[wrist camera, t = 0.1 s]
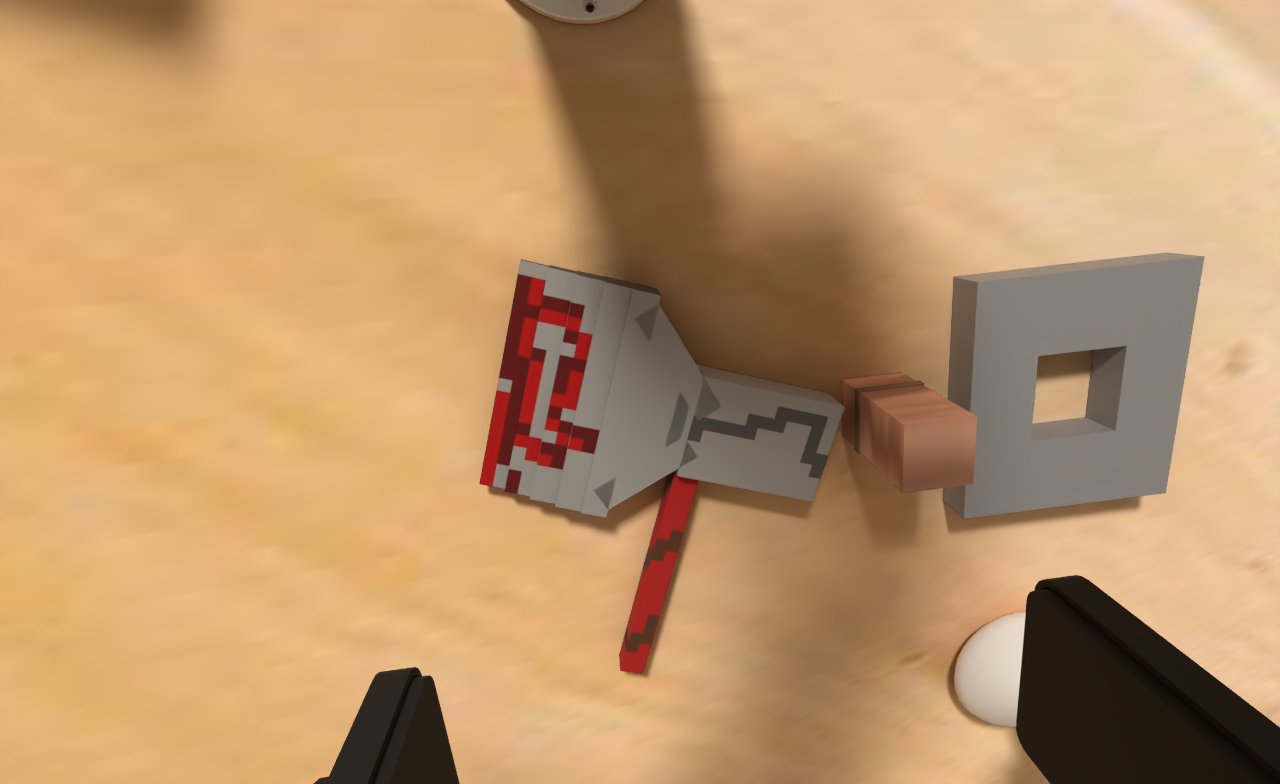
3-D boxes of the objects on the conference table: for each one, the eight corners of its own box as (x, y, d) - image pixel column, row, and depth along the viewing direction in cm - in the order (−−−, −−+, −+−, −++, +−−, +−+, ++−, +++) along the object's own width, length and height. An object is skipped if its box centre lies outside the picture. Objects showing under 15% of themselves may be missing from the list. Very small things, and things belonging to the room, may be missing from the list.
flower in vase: (1092, 653, 57) (1450, 980, 33) (988, 728, 59) (1259, 1090, 35) (1015, 563, 54) (1353, 857, 30) (908, 646, 55) (1147, 985, 32)
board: (953, 276, 46) (977, 282, 43) (1166, 252, 47) (1204, 256, 44) (943, 500, 51) (963, 518, 49) (1134, 476, 52) (1165, 493, 49)
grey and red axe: (446, 653, 48) (518, 262, 40) (456, 622, 52) (523, 257, 44) (744, 697, 52) (867, 343, 43) (734, 664, 55) (846, 332, 47)
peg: (840, 378, 48) (902, 423, 38) (901, 370, 48) (979, 414, 38) (840, 436, 49) (900, 494, 40) (900, 429, 49) (974, 485, 40)
